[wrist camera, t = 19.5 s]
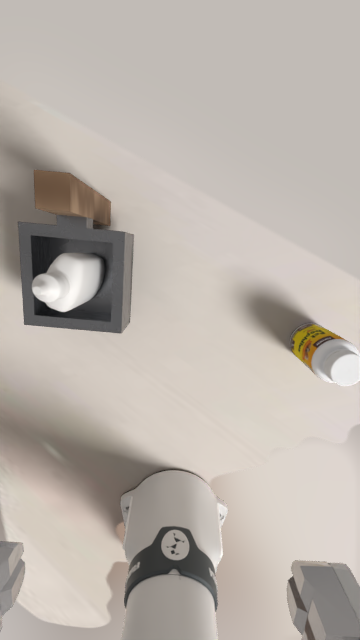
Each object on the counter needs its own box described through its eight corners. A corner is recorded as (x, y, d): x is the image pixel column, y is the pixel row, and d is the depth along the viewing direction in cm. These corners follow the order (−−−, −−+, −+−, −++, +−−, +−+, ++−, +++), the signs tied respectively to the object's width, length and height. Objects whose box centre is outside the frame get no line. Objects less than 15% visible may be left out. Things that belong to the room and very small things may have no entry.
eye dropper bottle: (60, 276, 32) (-9, 290, 21) (94, 247, 31) (42, 244, 20) (85, 304, 33) (32, 333, 21) (118, 276, 32) (82, 290, 21)
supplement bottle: (307, 314, 38) (351, 336, 28) (333, 338, 39) (384, 367, 29) (279, 342, 39) (312, 373, 29) (305, 364, 40) (346, 402, 30)
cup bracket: (135, 314, 38) (112, 345, 26) (60, 307, 38) (0, 335, 26) (140, 204, 35) (116, 177, 22) (57, 196, 35) (-14, 165, 22)
